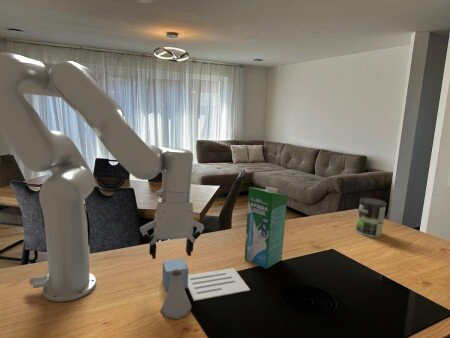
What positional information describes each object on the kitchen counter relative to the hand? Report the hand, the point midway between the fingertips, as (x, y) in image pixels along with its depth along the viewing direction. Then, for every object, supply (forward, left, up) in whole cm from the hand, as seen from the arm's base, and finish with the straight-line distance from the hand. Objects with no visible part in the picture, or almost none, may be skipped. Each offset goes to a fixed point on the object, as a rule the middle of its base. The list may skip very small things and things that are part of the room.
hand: (171, 255), depth 82 cm
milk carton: (+32, +6, -9) cm, 34 cm away
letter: (+12, -3, -9) cm, 15 cm away
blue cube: (+1, 0, -9) cm, 9 cm away
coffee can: (+88, +15, -9) cm, 90 cm away
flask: (-1, -11, -9) cm, 14 cm away
